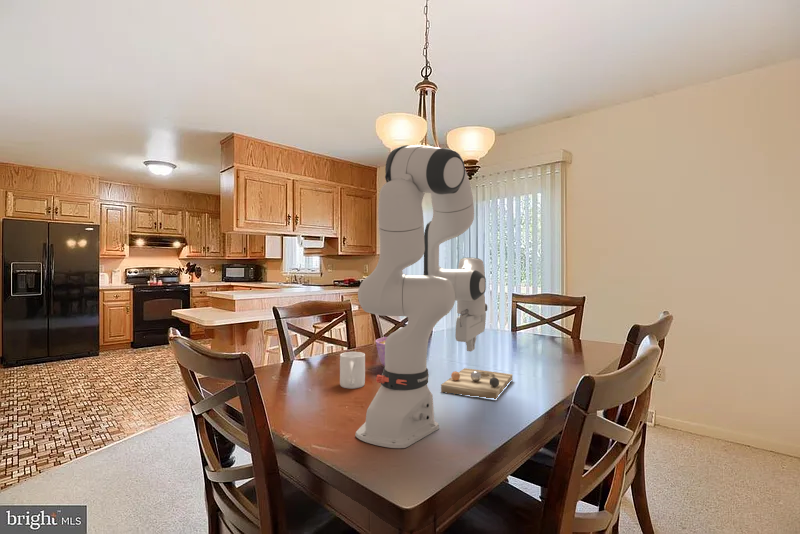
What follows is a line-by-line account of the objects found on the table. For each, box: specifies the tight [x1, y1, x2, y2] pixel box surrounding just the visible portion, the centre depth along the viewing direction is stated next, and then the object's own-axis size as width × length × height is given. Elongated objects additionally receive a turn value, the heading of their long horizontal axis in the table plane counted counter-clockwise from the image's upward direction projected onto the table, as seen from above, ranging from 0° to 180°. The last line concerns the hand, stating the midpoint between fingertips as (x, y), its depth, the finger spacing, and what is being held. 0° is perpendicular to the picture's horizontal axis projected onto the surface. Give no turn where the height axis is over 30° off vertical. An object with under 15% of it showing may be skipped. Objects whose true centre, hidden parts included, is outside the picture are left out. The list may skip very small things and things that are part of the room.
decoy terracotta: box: [450, 370, 460, 380], centre depth 135 cm, size 3×3×3 cm
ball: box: [471, 371, 481, 382], centre depth 134 cm, size 4×4×4 cm
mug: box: [339, 351, 366, 390], centre depth 136 cm, size 9×12×11 cm
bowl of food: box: [375, 336, 388, 367], centre depth 159 cm, size 20×20×12 cm
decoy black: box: [490, 377, 499, 387], centre depth 128 cm, size 3×3×3 cm
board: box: [440, 367, 513, 399], centre depth 137 cm, size 24×18×2 cm
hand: (470, 350), depth 129 cm, fingers closed
